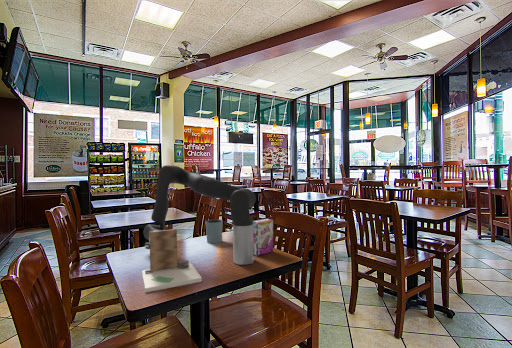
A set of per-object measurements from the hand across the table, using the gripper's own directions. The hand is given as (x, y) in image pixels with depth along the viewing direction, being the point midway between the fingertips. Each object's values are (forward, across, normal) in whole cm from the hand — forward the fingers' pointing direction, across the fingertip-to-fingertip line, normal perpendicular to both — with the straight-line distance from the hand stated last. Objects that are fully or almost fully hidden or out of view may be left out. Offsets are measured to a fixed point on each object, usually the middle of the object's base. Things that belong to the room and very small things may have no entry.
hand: (162, 249), depth 116 cm
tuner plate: (+6, +2, +10) cm, 12 cm away
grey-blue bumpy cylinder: (-37, +33, +10) cm, 50 cm away
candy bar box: (-5, +48, +10) cm, 49 cm away
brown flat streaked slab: (+1, +2, +8) cm, 8 cm away
